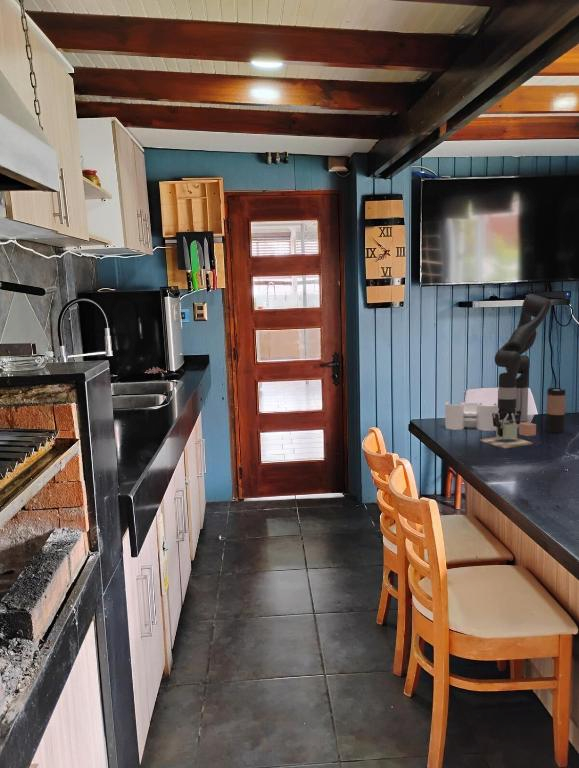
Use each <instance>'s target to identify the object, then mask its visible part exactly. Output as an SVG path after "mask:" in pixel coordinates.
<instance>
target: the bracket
mask: <svg viewBox="0 0 579 768" xmlns="http://www.w3.org/2000/svg"><path fill="white" fill-rule="evenodd" d="M444 406H445V408H444V409H445V418H444V421H445V423H444V425H445V429H447V430H452V431H453V430H454V431H455V430H456V431H457V430H463V429H465V428H476V429H477V430H479V431H485V432H486V431H487V432H493V431H495V432H496V427H495V426H493V417H492V414H493V413H498V411H499V408H498V402H493V405H484V404H483V405H482V402H461V401H459V404H451V402H449V401H447V402H445V405H444Z"/></svg>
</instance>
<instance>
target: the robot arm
mask: <svg viewBox="0 0 579 768" xmlns="http://www.w3.org/2000/svg"><path fill="white" fill-rule="evenodd" d="M551 305H552V301H551V300H550V298H549V299H548V298H547V297H543V296H540V295H537V294H533V293H529V294H527V295H526V297H525V299H524V300H523V303H522V305H521V310H520V316H519V321H518V324H517V327H516V329H515V330H514V331H513V332H512V334H511V336H510V338H509V339H508V341H507V342H506V343H504V345H502V347H500V348H499V349H498V350H497V352H496V353H495V356H494V363H495V365H496V366H497V367H501V368H505V370H506V372H501V373H500V374H498V390H497V403H498V408H499V411H498V413H493V414H492V417H493V426H495V427H497V431H498V433H497V434H498V436H500V437H502V436H503V424H505V422H506V421H508V422H512V423H516V424H517V426H518V425H519V424H520V423H524V422H527V421H528V411H529V410H528V409H529V408H528V406H529V380H530V379H529V378H530V377H529V376H530V364H531V362H530V358H529V356H528V355H525V354H524V353H525V352H527V351H528V350H530V349H531V348H532V346H533V345H534V344H535V341H536V338H537V328H538V327H539V326H540V325H541V323H542V322H543V321H544V319H545V318H546V317H547V316H548V313H549V311H550V309H551ZM531 317H532V318H533V317H534V318H533V319H532V318H531ZM523 354H524V355H523ZM518 374H520V375H519V376H518V377H517V375H518ZM500 424H501V425H500Z"/></svg>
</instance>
